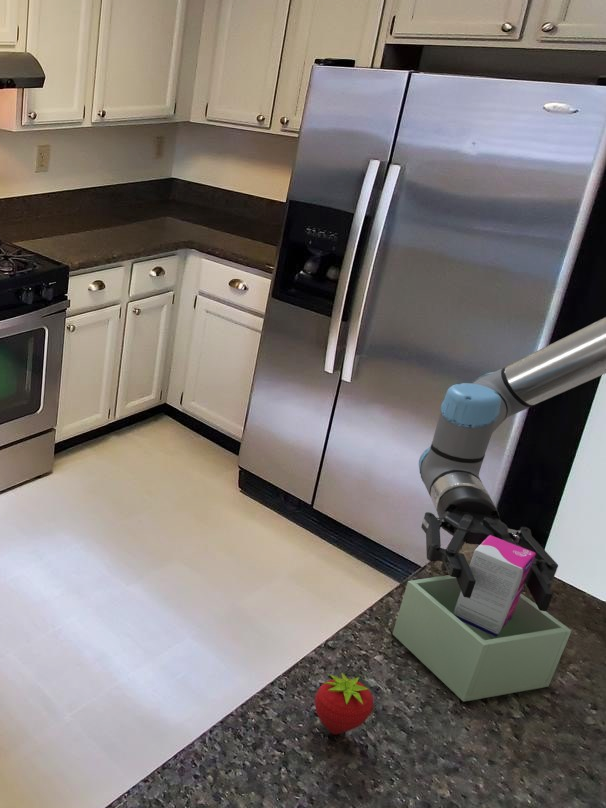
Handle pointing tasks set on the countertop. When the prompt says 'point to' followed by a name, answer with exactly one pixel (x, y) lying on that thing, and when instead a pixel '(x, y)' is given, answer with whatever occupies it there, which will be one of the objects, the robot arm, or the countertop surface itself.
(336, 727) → the strawberry
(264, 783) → the countertop surface
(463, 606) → the supplement box
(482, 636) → the trash bin
